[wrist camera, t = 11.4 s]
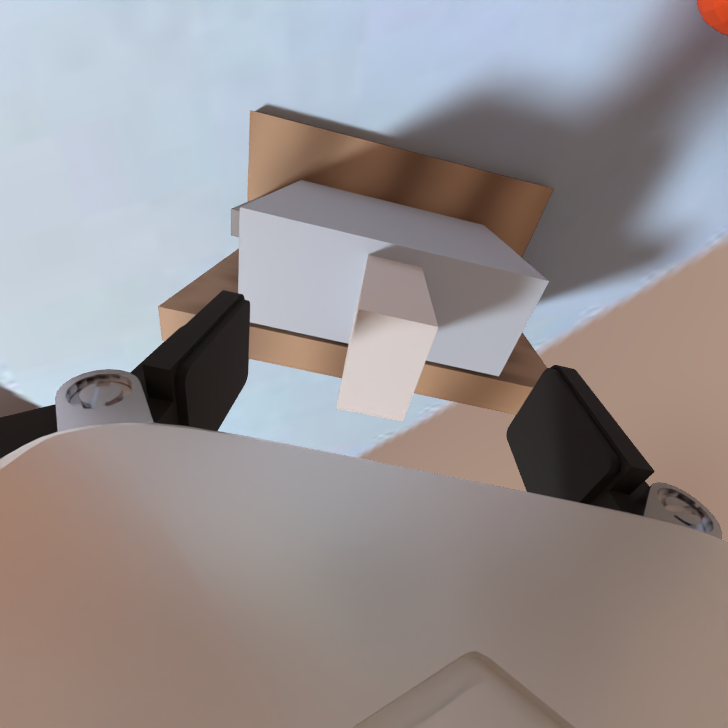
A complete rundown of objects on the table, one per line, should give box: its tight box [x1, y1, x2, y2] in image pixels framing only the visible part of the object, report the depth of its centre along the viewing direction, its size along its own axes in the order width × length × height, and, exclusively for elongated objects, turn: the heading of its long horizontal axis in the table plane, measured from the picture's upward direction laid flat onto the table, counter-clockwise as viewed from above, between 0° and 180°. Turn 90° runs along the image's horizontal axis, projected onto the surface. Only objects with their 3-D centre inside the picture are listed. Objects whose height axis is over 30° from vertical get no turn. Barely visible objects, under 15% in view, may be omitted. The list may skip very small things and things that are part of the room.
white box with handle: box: [238, 180, 549, 422], centre depth 19 cm, size 14×5×18 cm, turn 78°
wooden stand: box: [158, 110, 553, 415], centre depth 22 cm, size 22×11×14 cm, turn 78°
